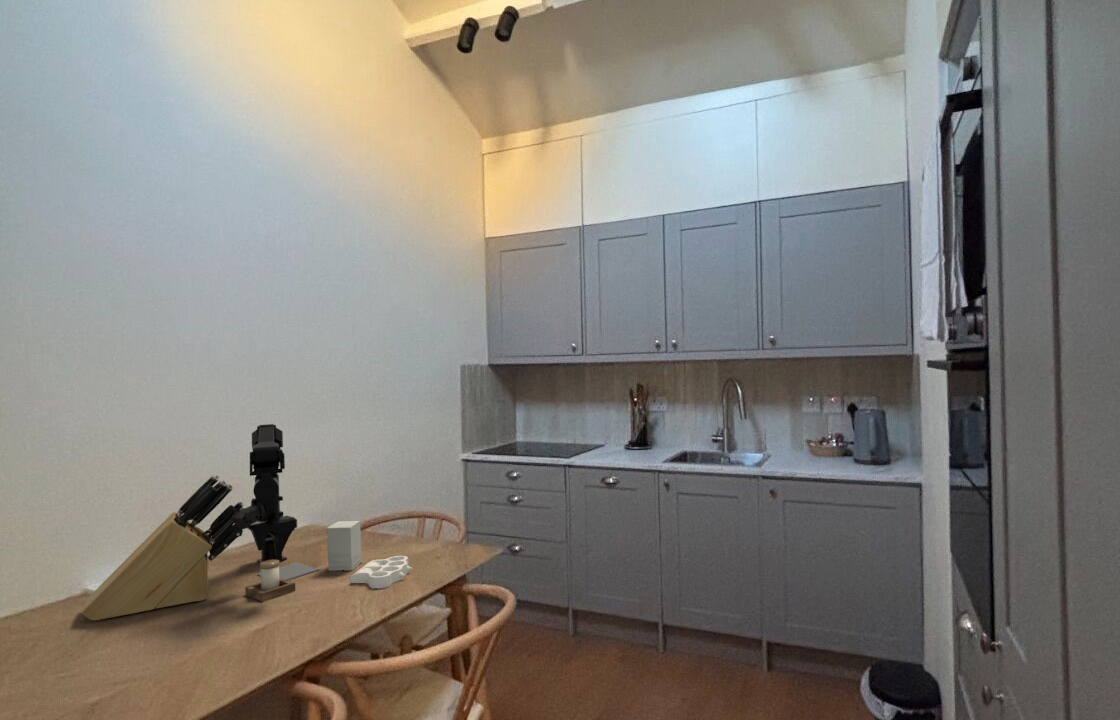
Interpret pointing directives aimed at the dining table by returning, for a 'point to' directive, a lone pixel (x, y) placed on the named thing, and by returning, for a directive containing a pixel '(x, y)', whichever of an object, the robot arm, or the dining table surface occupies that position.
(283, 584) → the pocket frame
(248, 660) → the dining table surface
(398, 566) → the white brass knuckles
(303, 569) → the mat
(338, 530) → the supplement box
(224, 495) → the knife block
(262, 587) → the jar
